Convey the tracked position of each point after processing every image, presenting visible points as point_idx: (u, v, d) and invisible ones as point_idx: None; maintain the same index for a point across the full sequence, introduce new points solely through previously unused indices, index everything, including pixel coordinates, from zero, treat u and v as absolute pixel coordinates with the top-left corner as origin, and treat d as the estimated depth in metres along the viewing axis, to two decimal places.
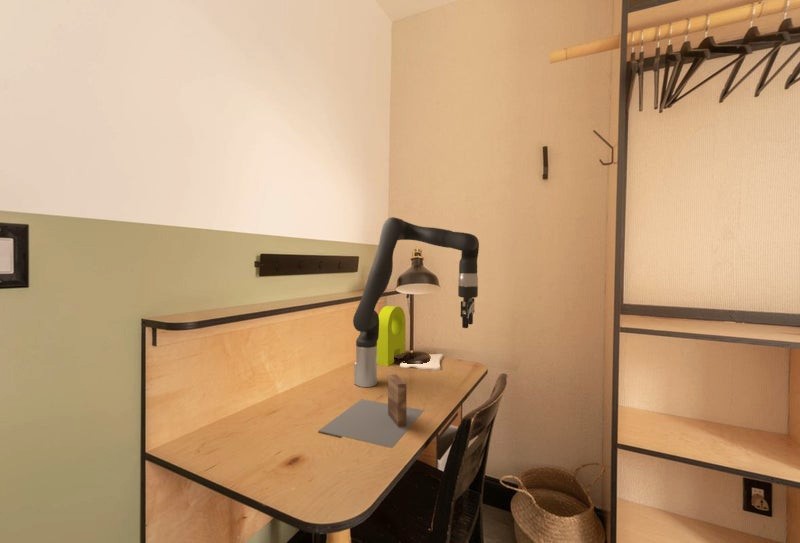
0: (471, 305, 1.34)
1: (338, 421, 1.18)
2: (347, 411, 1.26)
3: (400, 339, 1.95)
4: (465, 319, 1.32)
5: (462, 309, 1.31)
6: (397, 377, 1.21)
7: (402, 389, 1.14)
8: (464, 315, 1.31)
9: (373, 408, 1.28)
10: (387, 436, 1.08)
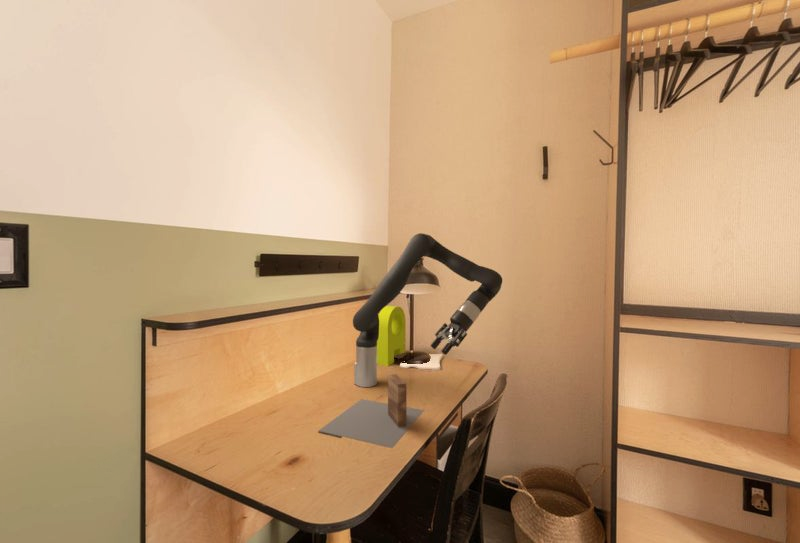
0: None
1: (338, 421, 1.18)
2: (347, 411, 1.26)
3: (400, 339, 1.95)
4: (451, 346, 1.20)
5: (459, 337, 1.19)
6: (397, 377, 1.21)
7: (402, 389, 1.14)
8: (456, 343, 1.19)
9: (373, 408, 1.28)
10: (387, 436, 1.08)
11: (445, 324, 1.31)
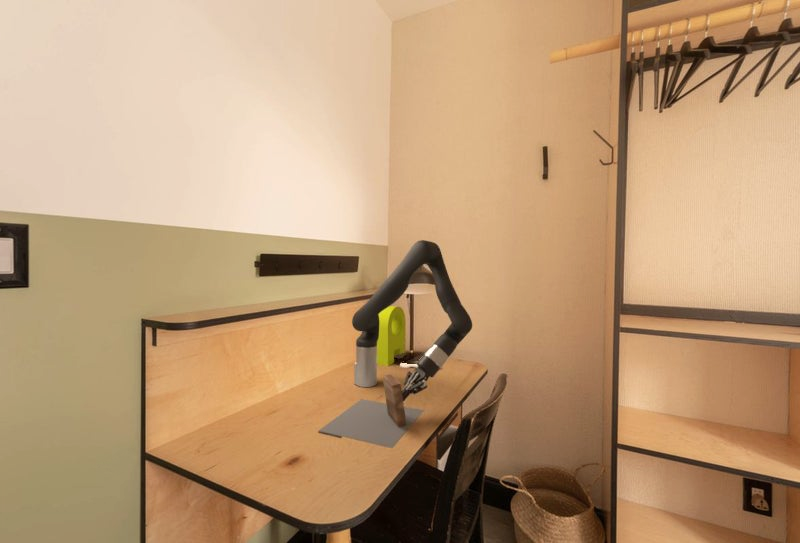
0: None
1: (338, 421, 1.18)
2: (347, 411, 1.26)
3: (400, 339, 1.95)
4: (408, 393, 1.19)
5: (416, 388, 1.17)
6: (391, 377, 1.20)
7: (396, 390, 1.14)
8: (413, 391, 1.18)
9: (373, 408, 1.28)
10: (387, 436, 1.08)
11: (409, 371, 1.26)
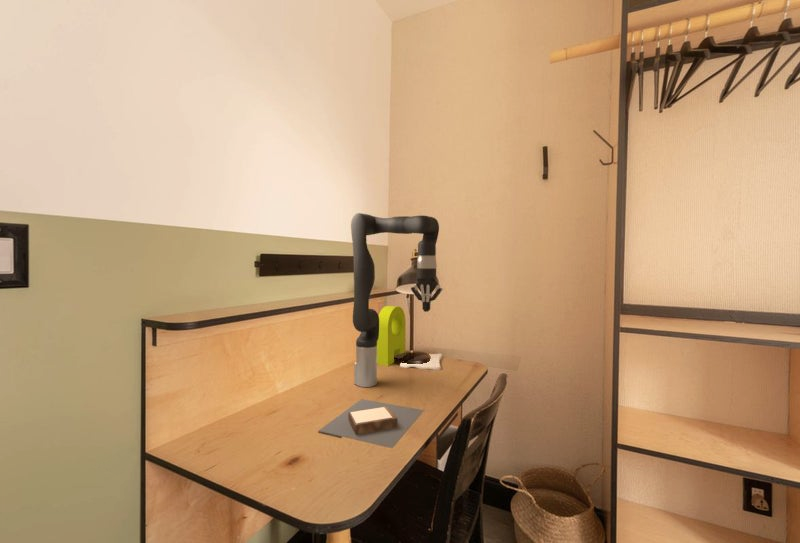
0: None
1: (338, 421, 1.18)
2: (347, 411, 1.26)
3: (400, 339, 1.95)
4: None
5: (437, 295, 1.35)
6: (350, 418, 1.15)
7: (361, 429, 1.10)
8: (434, 299, 1.36)
9: None
10: (387, 436, 1.08)
11: (413, 287, 1.38)
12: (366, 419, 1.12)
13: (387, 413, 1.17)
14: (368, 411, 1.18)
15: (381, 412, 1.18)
